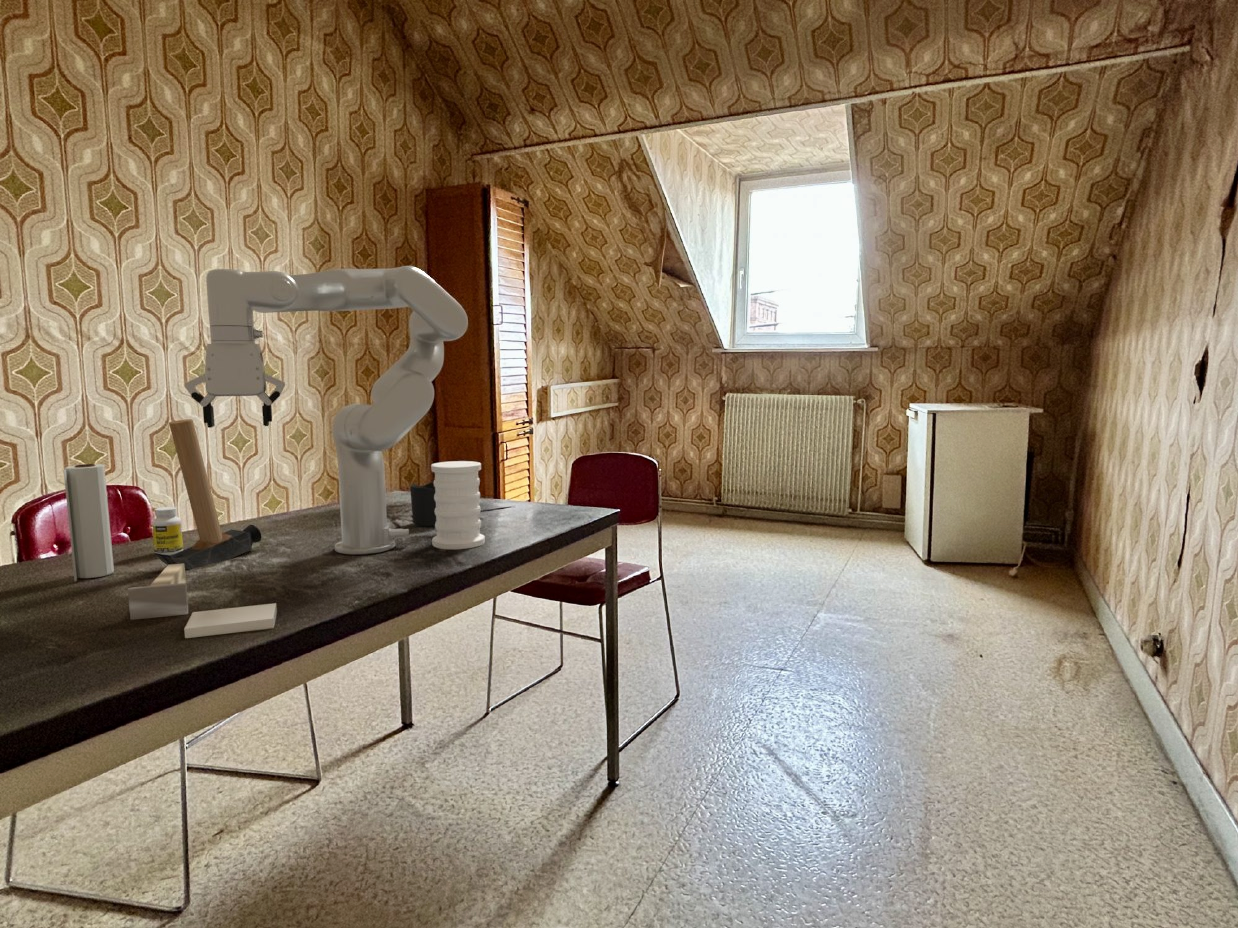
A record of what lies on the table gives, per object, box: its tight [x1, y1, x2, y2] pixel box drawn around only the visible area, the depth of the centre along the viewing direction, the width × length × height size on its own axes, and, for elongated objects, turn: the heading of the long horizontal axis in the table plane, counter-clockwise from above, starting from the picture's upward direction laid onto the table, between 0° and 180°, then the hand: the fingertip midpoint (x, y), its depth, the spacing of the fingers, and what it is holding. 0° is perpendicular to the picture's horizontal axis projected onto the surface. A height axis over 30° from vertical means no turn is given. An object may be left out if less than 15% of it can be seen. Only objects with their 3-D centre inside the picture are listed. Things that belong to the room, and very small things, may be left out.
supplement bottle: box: [151, 506, 184, 556], centre depth 163 cm, size 5×5×10 cm
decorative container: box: [430, 460, 486, 550], centre depth 170 cm, size 12×12×18 cm
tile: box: [183, 602, 278, 639], centre depth 118 cm, size 12×2×8 cm
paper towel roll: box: [63, 463, 115, 582], centre depth 145 cm, size 7×6×21 cm
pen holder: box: [409, 481, 436, 528], centre depth 192 cm, size 9×9×10 cm
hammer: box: [153, 418, 262, 570], centre depth 153 cm, size 20×5×30 cm, turn 153°
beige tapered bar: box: [127, 563, 190, 621], centre depth 129 cm, size 15×8×5 cm, turn 20°
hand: (239, 426), depth 147 cm, fingers open, 9 cm apart
